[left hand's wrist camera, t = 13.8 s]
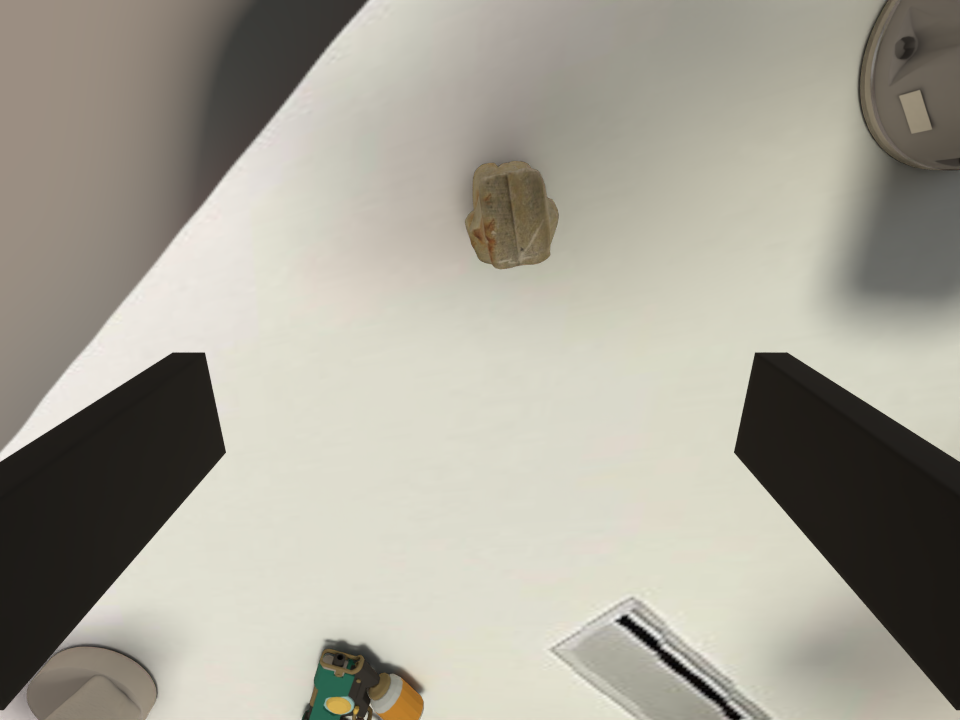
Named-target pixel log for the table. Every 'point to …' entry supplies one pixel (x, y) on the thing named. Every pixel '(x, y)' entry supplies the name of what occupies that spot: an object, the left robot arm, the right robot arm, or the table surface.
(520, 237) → the sculpture
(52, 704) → the bust sculpture
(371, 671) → the spray gun
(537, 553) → the table surface
